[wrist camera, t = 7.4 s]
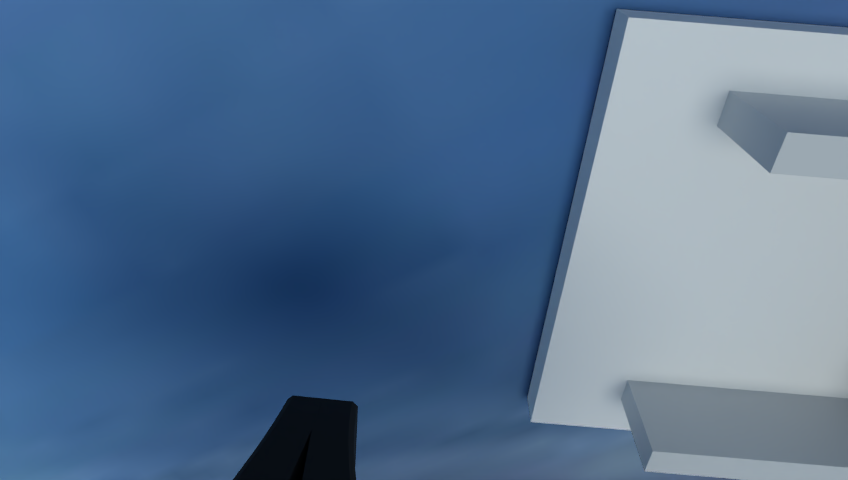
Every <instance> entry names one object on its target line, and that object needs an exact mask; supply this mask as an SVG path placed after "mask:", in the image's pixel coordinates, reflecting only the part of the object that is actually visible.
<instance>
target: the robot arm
mask: <svg viewBox="0 0 848 480" xmlns="http://www.w3.org/2000/svg"><path fill="white" fill-rule="evenodd" d="M357 413H358V406H357V405H356V404H355V403H354V402H351V401H341V400H331V399H322V398H312V397H302V396H292V397H290V398H289V399H288V400H287V401H286V403H285V405H284V407H283V408H282V410H281V412H280V413H279V415H278V416H277V418H276V420H275V421H274V423H273V424H272V426H271V427H270V429H269V430H268V432H267V433H266V435H265V436H264V438H263V439H262V441H261V442H260V444H259V445H258V446H257V448H256V449H255V451H254V452H253V454H252V455H251V456H250V458H249V459H248V460H247V462H246V463H245V464H244V466H243V467H242V468H241V470H240V471H239V472H238V474H237V475H236V476H235V478H234V479H233V480H356V474H355V460H356V437H357Z"/></svg>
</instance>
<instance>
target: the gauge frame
mask: <svg viewBox="0 0 848 480" xmlns="http://www.w3.org/2000/svg"><path fill="white" fill-rule="evenodd" d="M527 399H528V406H529V413H530V420H531V422H537V423H549V424H561V425H573V426H585V427H597V428H609V429H621V430H631V432H632V435H633V438H634V441H635V444H636V447H637V450H638V453H639V456H640V459H641V462H642V465H643V468H644V471H647V472H659V473H671V474H683V475H695V476H707V477H718V478H730V479H742V480H848V27H836V26H823V25H811V24H799V23H786V22H774V21H761V20H749V19H736V18H724V17H712V16H699V15H687V14H674V13H662V12H650V11H637V10H625V9H617V10H616V14H615V18H614V23H613V27H612V31H611V36H610V40H609V45H608V49H607V53H606V58H605V62H604V66H603V71H602V75H601V79H600V84H599V88H598V92H597V97H596V101H595V105H594V110H593V114H592V118H591V123H590V127H589V132H588V136H587V140H586V145H585V149H584V153H583V158H582V162H581V166H580V171H579V175H578V179H577V184H576V188H575V192H574V197H573V201H572V205H571V210H570V214H569V219H568V223H567V227H566V232H565V236H564V240H563V245H562V249H561V253H560V258H559V262H558V266H557V271H556V275H555V279H554V284H553V288H552V292H551V297H550V301H549V306H548V310H547V314H546V319H545V323H544V327H543V332H542V336H541V340H540V345H539V349H538V353H537V358H536V362H535V366H534V371H533V375H532V379H531V384H530V388H529V393H528V397H527Z"/></svg>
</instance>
